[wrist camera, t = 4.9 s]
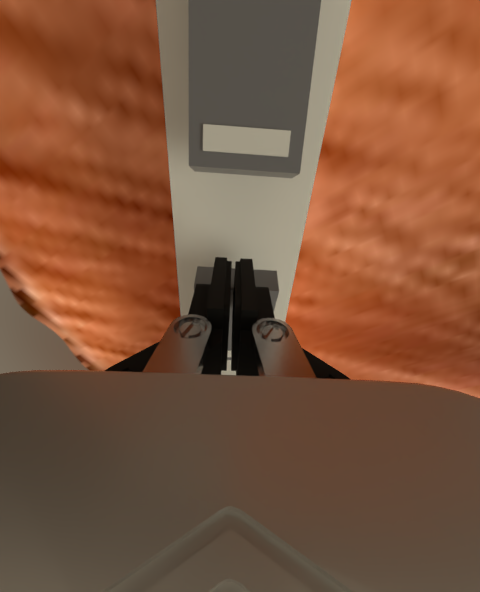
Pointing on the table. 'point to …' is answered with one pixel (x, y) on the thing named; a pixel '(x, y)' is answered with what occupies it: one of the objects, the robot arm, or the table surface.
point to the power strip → (241, 188)
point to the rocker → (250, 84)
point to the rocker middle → (261, 280)
